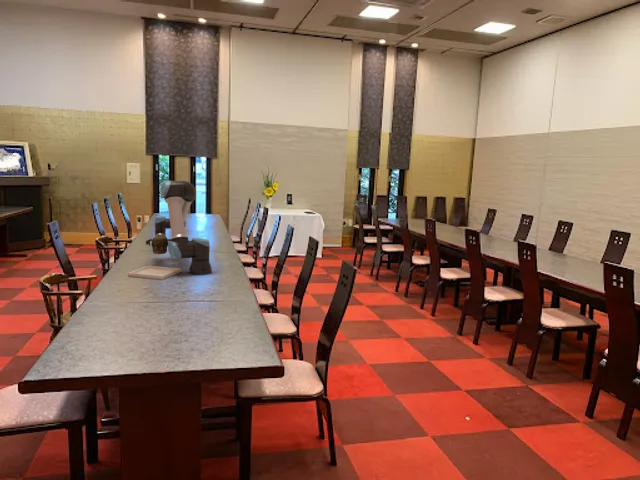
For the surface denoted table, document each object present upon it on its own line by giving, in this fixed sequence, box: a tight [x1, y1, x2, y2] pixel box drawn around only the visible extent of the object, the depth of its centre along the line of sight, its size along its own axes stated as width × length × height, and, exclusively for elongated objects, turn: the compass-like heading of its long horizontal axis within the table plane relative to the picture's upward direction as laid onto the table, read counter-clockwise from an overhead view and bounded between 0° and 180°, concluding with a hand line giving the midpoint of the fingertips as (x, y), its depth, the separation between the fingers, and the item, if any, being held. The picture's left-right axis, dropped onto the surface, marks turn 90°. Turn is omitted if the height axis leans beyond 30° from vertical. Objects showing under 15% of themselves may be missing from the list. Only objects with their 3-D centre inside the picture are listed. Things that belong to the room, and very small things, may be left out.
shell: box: [151, 235, 169, 255], centre depth 323 cm, size 11×11×12 cm
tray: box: [127, 265, 182, 281], centre depth 310 cm, size 24×24×2 cm
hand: (159, 244), depth 319 cm, fingers closed on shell, 11 cm apart
